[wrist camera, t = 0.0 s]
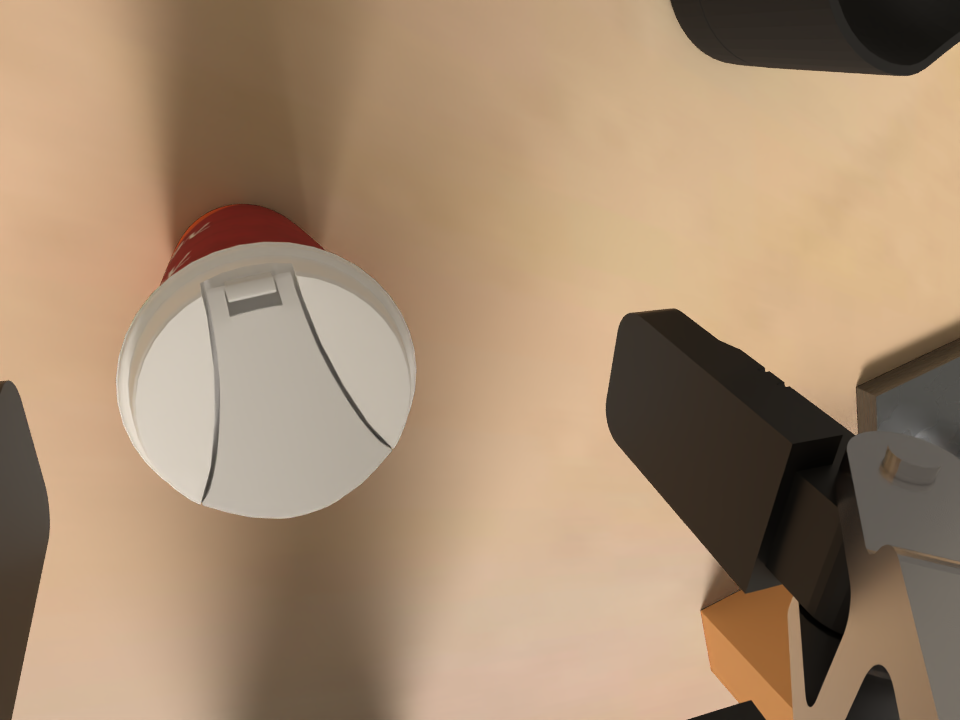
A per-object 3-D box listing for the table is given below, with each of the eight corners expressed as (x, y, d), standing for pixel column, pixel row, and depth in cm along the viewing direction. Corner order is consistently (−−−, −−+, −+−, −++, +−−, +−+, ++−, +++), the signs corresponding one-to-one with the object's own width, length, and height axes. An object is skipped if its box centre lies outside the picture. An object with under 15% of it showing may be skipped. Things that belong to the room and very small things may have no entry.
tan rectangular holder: (779, 633, 52) (930, 778, 41) (711, 670, 50) (848, 829, 40) (772, 573, 49) (931, 711, 39) (700, 610, 48) (843, 763, 37)
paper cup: (117, 196, 28) (62, 294, 16) (317, 160, 30) (403, 223, 18) (177, 380, 32) (168, 579, 19) (354, 337, 34) (448, 492, 21)
